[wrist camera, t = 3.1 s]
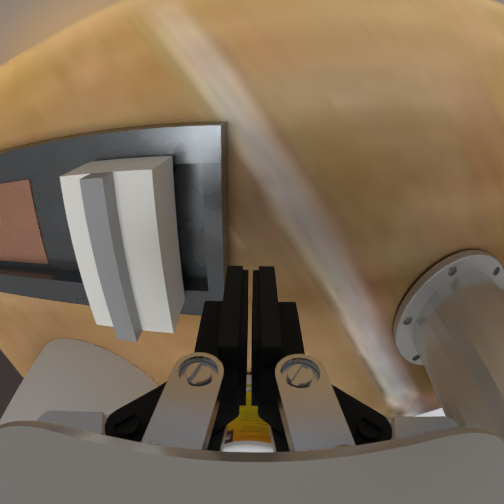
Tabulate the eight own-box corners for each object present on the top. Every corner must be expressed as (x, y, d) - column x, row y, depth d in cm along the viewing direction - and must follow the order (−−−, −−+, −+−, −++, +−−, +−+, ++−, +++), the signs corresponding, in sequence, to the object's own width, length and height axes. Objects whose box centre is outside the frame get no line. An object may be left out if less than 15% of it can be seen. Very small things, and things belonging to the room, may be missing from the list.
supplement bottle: (232, 366, 27) (221, 466, 18) (289, 377, 27) (294, 473, 18) (220, 397, 29) (209, 485, 20) (271, 406, 30) (271, 492, 21)
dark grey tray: (227, 121, 17) (220, 125, 14) (229, 290, 23) (225, 316, 20) (-37, 162, 18) (-58, 172, 15) (-10, 271, 23) (-26, 286, 20)
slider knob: (179, 150, 16) (143, 175, 11) (189, 286, 20) (169, 345, 15) (102, 156, 16) (48, 182, 11) (123, 282, 20) (90, 335, 15)
